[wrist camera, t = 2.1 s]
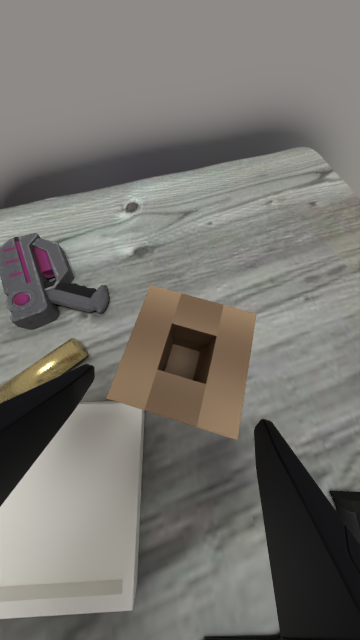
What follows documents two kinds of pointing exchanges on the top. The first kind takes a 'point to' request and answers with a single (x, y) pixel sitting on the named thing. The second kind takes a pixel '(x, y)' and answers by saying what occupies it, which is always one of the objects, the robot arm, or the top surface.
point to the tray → (76, 519)
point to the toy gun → (42, 282)
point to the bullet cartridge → (44, 369)
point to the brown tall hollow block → (187, 361)
